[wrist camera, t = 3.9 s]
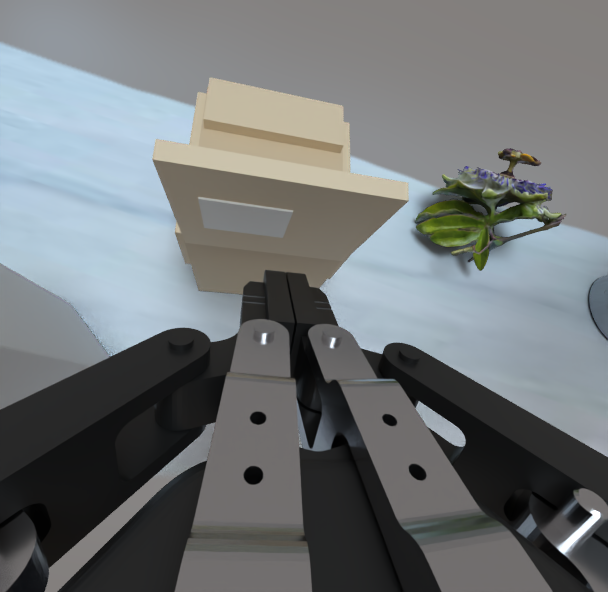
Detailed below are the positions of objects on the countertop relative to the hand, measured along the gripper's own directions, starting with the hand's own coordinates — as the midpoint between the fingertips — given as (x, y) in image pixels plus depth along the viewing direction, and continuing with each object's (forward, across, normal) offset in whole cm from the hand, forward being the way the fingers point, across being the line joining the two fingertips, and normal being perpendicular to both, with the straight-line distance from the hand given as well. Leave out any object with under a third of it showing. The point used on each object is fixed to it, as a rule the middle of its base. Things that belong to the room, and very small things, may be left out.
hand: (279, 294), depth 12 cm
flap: (+5, 0, -2) cm, 6 cm away
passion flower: (+23, -23, +2) cm, 32 cm away
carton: (+20, 0, +4) cm, 20 cm away
